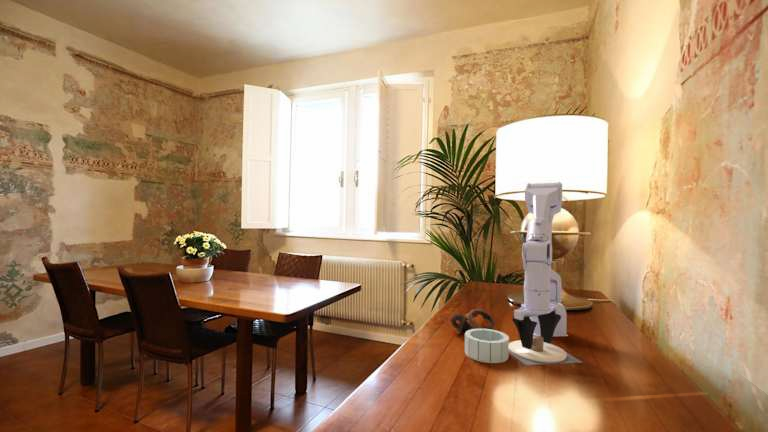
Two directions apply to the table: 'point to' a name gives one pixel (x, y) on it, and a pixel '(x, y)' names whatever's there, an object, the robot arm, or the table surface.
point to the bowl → (487, 345)
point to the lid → (538, 351)
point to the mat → (528, 362)
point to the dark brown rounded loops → (471, 320)
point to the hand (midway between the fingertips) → (536, 345)
